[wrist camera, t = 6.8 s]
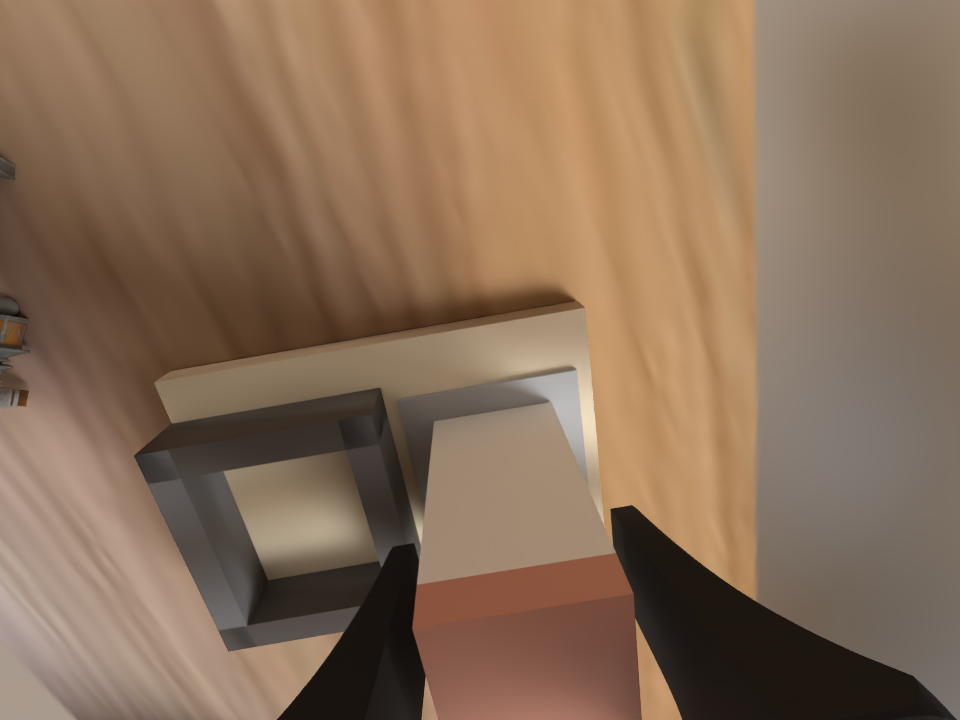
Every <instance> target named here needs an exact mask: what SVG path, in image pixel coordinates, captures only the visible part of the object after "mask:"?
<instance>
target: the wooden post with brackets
mask: <svg viewBox="0 0 960 720" xmlns="http://www.w3.org/2000/svg"><path fill="white" fill-rule="evenodd" d="M15 167H16V166H15V165H13V164H12V163H10V162H8V161H6V160H4V159H3V158H1V157H0V177H1V178H8V179H15V178H14V174H15ZM18 311H19V305H18V304H17V302H16V301H15V300H13V299H11V298H7V297H2V298H0V374H1V372H2V371H3V370H6V369H9V368H13V367H12V366H9V365H6V364H2V362H8V361H10V360H9V359H7V358H9V357H11V356H15V355H19V354H26V353H29V352H30V350H23V349H22V347H21V343H22V340H23V336H24V332H25V329H26V326H27V321H28V319H27V318H22V317H16V316H14V315H16V314H17V313H18ZM0 384H1V379H0ZM28 392H29V391H26V390H16V389H13V388H5V387H0V408H10V406H12V407H17V406H25V407H26V403H27V398H28Z"/></svg>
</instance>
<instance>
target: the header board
mask: <svg viewBox="0 0 960 720" xmlns="http://www.w3.org/2000/svg"><path fill="white" fill-rule="evenodd" d="M154 384H155V386H156V389H157V391H158V393H159V396H160V398H161V400H162V402H163V405H164V407H165V409H166V412H167V414H168V416H169V418H170V421H171V423H172V424H171V425H170V426H168V427H167V428H166V429H165V430H164V431H163V432H161V433H160V434H159V435H158V436H157V437H155V438H154V439H153V440H152V441H151V442H150V443H148V444H147V445H146V446H145V447H144V448H142V449H141V450H140V451H139V452H138V453H137V454H135V455H134V457H135V459H136V461H137V463H138V465H139V467H140V469H141V471H142V473H143V475H144V478H145V480H146V482H147V484H148V486H149V488H150V490H151V492H152V494H153V496H154V498H155V500H156V502H157V504H158V507H159V509H160V511H161V513H162V515H163V517H164V519H165V521H166V523H167V525H168V527H169V529H170V531H171V534H172V536H173V538H174V540H175V542H176V544H177V546H178V548H179V550H180V552H181V554H182V556H183V558H184V561H185V563H186V565H187V567H188V569H189V571H190V573H191V575H192V577H193V579H194V581H195V583H196V585H197V588H198V590H199V592H200V594H201V596H202V598H203V600H204V602H205V604H206V606H207V608H208V610H209V612H210V614H211V617H212V619H213V621H214V623H215V625H216V627H217V629H218V631H219V633H220V635H221V637H222V639H223V641H224V644H225V646H226V648H227V650H228V651H234V650H240V649H245V648H251V647H257V646H263V645H268V644H274V643H280V642H286V641H292V640H297V639H303V638H309V637H315V636H320V635H326V634H332V633H338V632H344V631H345V630H346V629H347V627H348V626H349V624H350V622H351V621H352V619H353V618H354V616H355V614H356V613H357V611H358V609H359V608H360V606H361V604H362V602H363V601H364V599H365V597H366V595H367V594H368V592H369V590H370V588H371V587H372V585H373V583H374V581H375V579H376V577H377V575H378V573H379V571H380V569H381V567H382V566H383V564H384V561H385V559H386V557H387V555H388V553H389V551H390V550H391V549H392V547H394V546H399V545H405V544H411V543H415V547H416V551H417V555H418V559H419V560H420V551H421V541H422V532H423V522H424V513H425V503H426V493H427V484H428V474H429V465H430V455H431V446H432V436H433V427H434V421H439V420H445V419H451V418H457V417H463V416H469V415H475V414H481V413H487V412H493V411H499V410H505V409H511V408H517V407H523V406H529V405H535V404H541V403H547V402H552V405H553V407H554V409H555V412H556V414H557V416H558V419H559V421H560V423H561V426H562V428H563V430H564V433H565V435H566V437H567V440H568V442H569V444H570V447H571V449H572V451H573V454H574V456H575V458H576V461H577V463H578V465H579V468H580V470H581V472H582V475H583V477H584V479H585V482H586V484H587V486H588V489H589V491H590V493H591V496H592V498H593V500H594V503H595V505H596V507H597V510H598V512H599V514H600V517H601V519H602V521H603V524H604V519H603V507H602V496H601V484H600V473H599V461H598V449H597V438H596V426H595V415H594V403H593V392H592V380H591V368H590V357H589V345H588V334H587V322H586V311H585V307H584V306H583V305H582V304H580V303H579V302H578V301H574V302H568V303H562V304H556V305H550V306H545V307H539V308H533V309H527V310H521V311H516V312H510V313H504V314H498V315H493V316H487V317H481V318H475V319H469V320H464V321H458V322H452V323H446V324H440V325H435V326H429V327H423V328H417V329H412V330H406V331H400V332H394V333H388V334H383V335H377V336H371V337H365V338H360V339H354V340H348V341H342V342H336V343H331V344H325V345H319V346H313V347H307V348H302V349H296V350H290V351H284V352H279V353H273V354H267V355H261V356H255V357H250V358H244V359H238V360H232V361H227V362H221V363H215V364H209V365H203V366H198V367H192V368H186V369H180V370H174V371H170V372H169V373H167V374H166V375H164V376H163V377H161V378H160V379H158V380H157V381H155V382H154Z"/></svg>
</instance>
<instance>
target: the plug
mask: <svg viewBox="0 0 960 720" xmlns="http://www.w3.org/2000/svg"><path fill="white" fill-rule="evenodd" d="M412 629H413V633H414V636H415V640H416V643H417V647H418V650H419V654H420V657H421V661H422V664H423V668H424V671H425V675H426V678H427V681H428V685H429V688H430V692H431V695H432V699H433V702H434V706H435V709H436V713H437V716H438V720H642V717H641V702H640V686H639V671H638V655H637V640H636V625H635V609H634V594H633V591H632V589H631V587H630V584H629V582H628V580H627V577H626V575H625V573H624V570H623V568H622V566H621V563H620V561H619V559H618V556H617V554H616V552H615V549H614V547H613V545H612V542H611V540H610V538H609V535H608V533H607V531H606V528H605V526H604V524H603V521H602V519H601V517H600V514H599V512H598V510H597V507H596V505H595V503H594V500H593V498H592V496H591V493H590V491H589V489H588V486H587V484H586V482H585V479H584V477H583V475H582V472H581V470H580V468H579V465H578V463H577V461H576V458H575V456H574V454H573V451H572V449H571V447H570V444H569V442H568V440H567V437H566V435H565V433H564V430H563V428H562V426H561V423H560V421H559V419H558V416H557V414H556V412H555V409H554V407H553V405H552V402H547V403H541V404H535V405H529V406H523V407H517V408H511V409H505V410H499V411H493V412H487V413H481V414H475V415H469V416H463V417H457V418H451V419H445V420H439V421H434V427H433V436H432V446H431V455H430V465H429V474H428V484H427V493H426V503H425V513H424V522H423V532H422V541H421V551H420V560H419V570H418V579H417V589H416V598H415V608H414V617H413V627H412Z"/></svg>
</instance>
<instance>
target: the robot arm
mask: <svg viewBox="0 0 960 720" xmlns="http://www.w3.org/2000/svg"><path fill="white" fill-rule="evenodd" d="M610 510H611V522H612V535H613V547H614V549H615V552H616V554H617V556H618V559H619V561H620V563H621V566H622V568H623V570H624V573H625V575H626V577H627V580H628V582H629V584H630V587H631V589H632V591H633V594H634V609H635V618H636V620H637V622H638V624H639V626H640V628H641V631H642V633H643V635H644V637H645V639H646V641H647V643H648V645H649V647H650V649H651V651H652V653H653V655H654V657H655V659H656V661H657V663H658V665H659V667H660V669H661V671H662V673H663V676H664V678H665V680H666V682H667V684H668V686H669V688H670V690H671V693H672V695H673V697H674V699H675V702H676V704H677V707H678V709H679V712H680V715H681V717H682V720H957V719H956V718H955V717H954V716H953V715H952V714H951V713H950V712H949V711H948V710H947V709H946V707H945V706H943V704H941V702H940V701H938V699H937V698H936V697H935V696H934V695H933V694H932V693H931V692H929V691H928V690H927V689H926V688H925V687H924V686H923V685H922V684H921V683H920V682H919V681H918V680H917V679H916V678H915V677H914V676H912V675H909V674H907V673H904V672H902V671H899V670H897V669H894V668H892V667H889V666H887V665H884V664H882V663H879V662H877V661H874V660H872V659H869V658H867V657H864V656H862V655H859V654H857V653H855V652H853V651H850V650H848V649H846V648H844V647H842V646H840V645H837V644H835V643H833V642H831V641H829V640H827V639H825V638H822V637H820V636H818V635H816V634H814V633H812V632H810V631H808V630H806V629H804V628H802V627H800V626H799V625H797V624H795V623H793V622H791V621H789V620H787V619H786V618H784V617H782V616H780V615H778V614H776V613H775V612H773V611H771V610H769V609H767V608H766V607H764V606H762V605H761V604H759V603H757V602H756V601H754V600H753V599H751V598H749V597H748V596H746V595H745V594H743V593H742V592H740V591H738V590H737V589H735V588H734V587H732V586H731V585H729V584H728V583H727V582H725V581H724V580H722V579H721V578H719V577H718V576H717V575H715V574H714V573H713V572H711V571H710V570H709V569H707V568H706V567H704V566H703V565H702V564H701V563H699V562H698V561H697V560H695V559H694V558H693V557H692V556H690V555H689V554H688V553H687V552H685V551H684V550H683V549H682V548H681V547H679V546H678V545H677V544H676V543H674V542H673V541H672V540H671V539H670V538H669V537H667V536H666V535H665V534H664V533H663V532H662V531H661V530H659V529H658V528H657V527H656V526H655V525H654V524H653V523H652V522H651V521H649V520H648V519H647V518H646V517H645V516H644V515H643V514H642V513H641V512H640V511H639V510H638V509H636V508H635V507H634V506H632V505H631V506H625V507H619V508H613V509H610ZM418 570H419V559H418V555H417V551H416V547H415V543H411V544H405V545H399V546H394V547H392V549H391V550H390V551H389V553H388V555H387V557H386V559H385V561H384V564H383V566H382V567H381V569H380V571H379V573H378V575H377V577H376V579H375V581H374V583H373V585H372V587H371V588H370V590H369V592H368V594H367V595H366V597H365V599H364V601H363V602H362V604H361V606H360V608H359V609H358V611H357V613H356V614H355V616H354V618H353V619H352V621H351V622H350V624H349V626H348V627H347V629H346V630H345V632H344V633H343V635H342V636H341V638H340V640H339V641H338V643H337V644H336V646H335V647H334V648H333V650H332V651H331V653H330V654H329V656H328V657H327V658H326V660H325V661H324V663H323V664H322V665H321V667H320V668H319V669H318V671H317V672H316V673H315V675H314V676H313V677H312V678H311V680H310V681H309V682H308V683H307V685H306V686H305V687H304V688H303V690H302V691H301V692H300V693H299V694H298V696H297V697H296V698H295V699H294V701H293V702H292V703H291V704H290V705H289V706H288V708H287V709H286V710H285V711H284V712H283V713H282V715H281V716H280V717H279V718H278V719H277V720H421V717H422V707H423V697H424V687H425V677H426V675H425V671H424V668H423V664H422V661H421V657H420V654H419V650H418V647H417V643H416V640H415V636H414V633H413V629H412V627H413V617H414V608H415V598H416V589H417V579H418Z"/></svg>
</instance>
